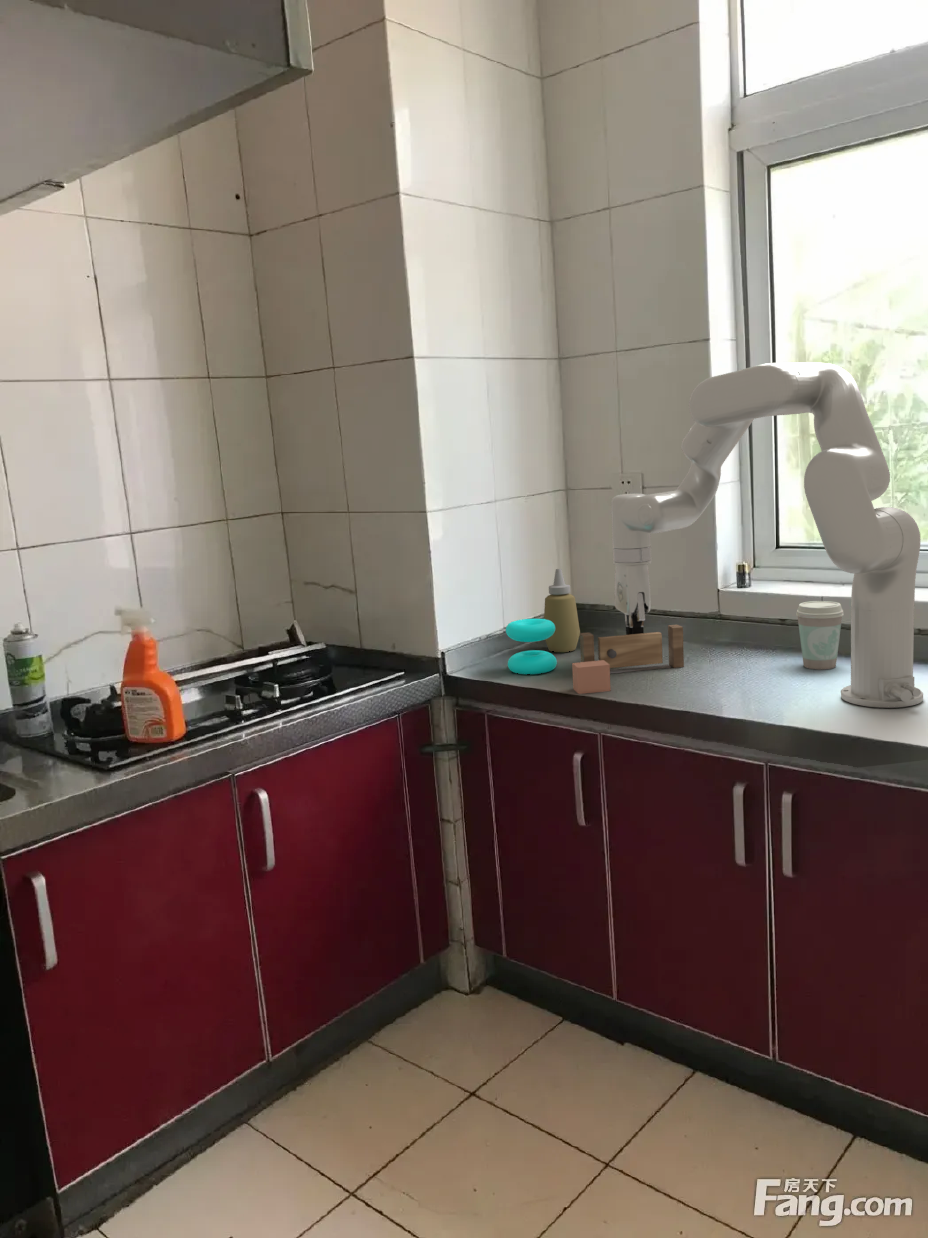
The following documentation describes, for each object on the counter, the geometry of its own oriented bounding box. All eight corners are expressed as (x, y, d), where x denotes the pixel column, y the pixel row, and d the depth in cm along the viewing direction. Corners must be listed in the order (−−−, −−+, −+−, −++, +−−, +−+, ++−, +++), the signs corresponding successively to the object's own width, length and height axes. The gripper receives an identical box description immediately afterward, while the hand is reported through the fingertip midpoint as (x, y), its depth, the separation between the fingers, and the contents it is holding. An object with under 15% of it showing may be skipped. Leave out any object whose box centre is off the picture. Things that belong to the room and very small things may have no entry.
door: (664, 664, 195) (663, 634, 194) (602, 670, 194) (601, 640, 192) (659, 661, 198) (659, 631, 197) (598, 667, 196) (597, 637, 195)
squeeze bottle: (538, 649, 222) (534, 569, 218) (571, 644, 224) (568, 565, 221) (552, 655, 214) (548, 572, 211) (586, 651, 216) (583, 569, 213)
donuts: (539, 627, 193) (495, 625, 199) (541, 677, 195) (498, 673, 201) (563, 618, 201) (521, 616, 207) (566, 666, 203) (524, 663, 209)
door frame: (683, 666, 196) (682, 627, 195) (585, 676, 194) (583, 636, 192) (678, 663, 199) (677, 624, 198) (581, 673, 197) (579, 633, 195)
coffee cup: (798, 671, 187) (797, 608, 185) (794, 661, 195) (794, 601, 193) (846, 671, 185) (846, 607, 183) (840, 661, 193) (840, 600, 191)
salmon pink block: (610, 691, 182) (609, 664, 181) (578, 694, 181) (577, 667, 180) (604, 686, 186) (603, 660, 185) (573, 689, 185) (572, 663, 184)
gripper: (603, 553, 206) (607, 640, 209) (624, 561, 191) (628, 654, 194) (638, 551, 206) (641, 637, 210) (662, 558, 192) (665, 651, 195)
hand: (635, 645), depth 202 cm, fingers closed
